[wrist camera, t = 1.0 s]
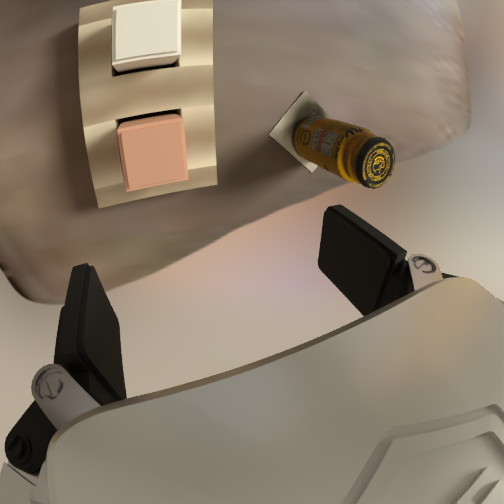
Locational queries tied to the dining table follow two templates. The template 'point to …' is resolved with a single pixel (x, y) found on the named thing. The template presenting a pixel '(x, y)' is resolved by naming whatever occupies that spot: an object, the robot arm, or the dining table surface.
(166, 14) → the ivory key
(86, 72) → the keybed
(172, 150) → the terracotta key
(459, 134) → the dining table surface
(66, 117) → the dining table surface
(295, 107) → the condiment
